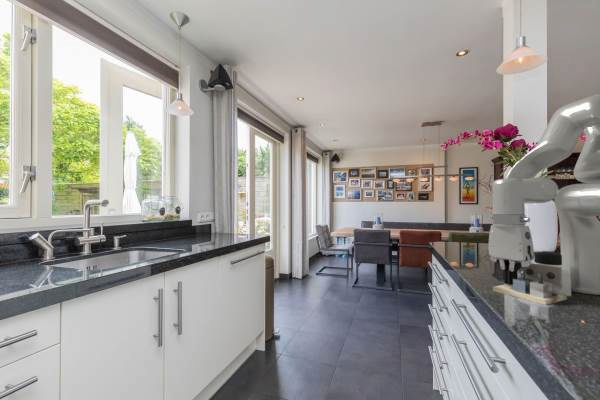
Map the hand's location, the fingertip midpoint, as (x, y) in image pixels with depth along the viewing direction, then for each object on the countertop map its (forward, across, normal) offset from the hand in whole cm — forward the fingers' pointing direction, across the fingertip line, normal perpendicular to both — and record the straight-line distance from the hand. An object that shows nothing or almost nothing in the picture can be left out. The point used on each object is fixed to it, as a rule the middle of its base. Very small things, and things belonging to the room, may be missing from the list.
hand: (510, 283), depth 81 cm
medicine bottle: (+3, -4, -11) cm, 12 cm away
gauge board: (+3, -4, -2) cm, 5 cm away
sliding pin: (+1, -3, 0) cm, 4 cm away
